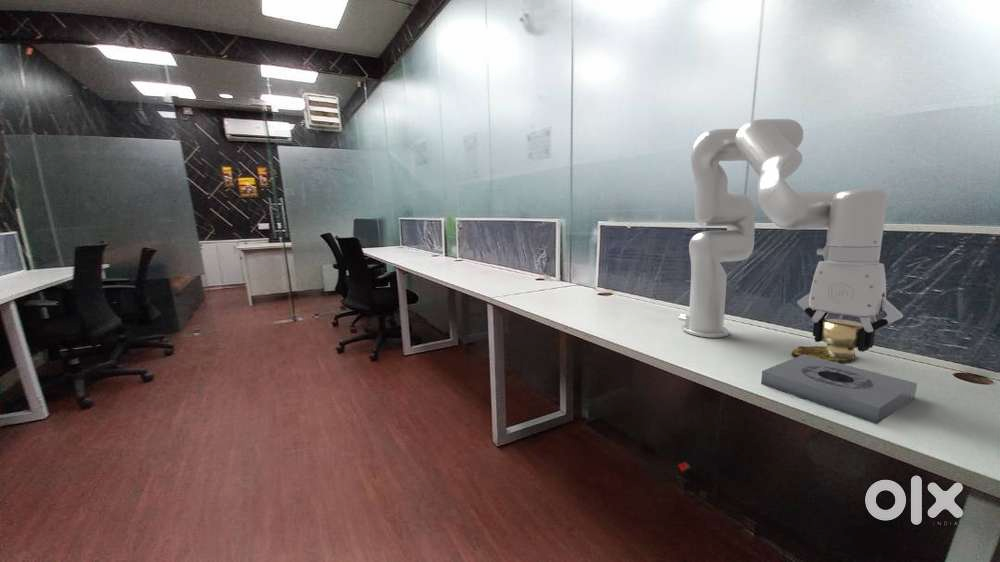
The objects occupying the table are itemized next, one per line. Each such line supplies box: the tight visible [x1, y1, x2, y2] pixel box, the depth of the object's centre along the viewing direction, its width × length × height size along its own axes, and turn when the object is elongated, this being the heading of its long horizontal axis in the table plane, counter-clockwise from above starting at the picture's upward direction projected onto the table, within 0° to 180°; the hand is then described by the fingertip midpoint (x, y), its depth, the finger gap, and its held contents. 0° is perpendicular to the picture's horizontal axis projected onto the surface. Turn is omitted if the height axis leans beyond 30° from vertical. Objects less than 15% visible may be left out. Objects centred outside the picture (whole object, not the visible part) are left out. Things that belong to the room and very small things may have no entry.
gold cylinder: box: [821, 318, 864, 359], centre depth 71 cm, size 6×6×7 cm
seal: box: [790, 345, 857, 364], centre depth 90 cm, size 9×5×15 cm
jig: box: [760, 354, 918, 425], centre depth 73 cm, size 18×18×3 cm
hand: (841, 344), depth 71 cm, fingers closed on gold cylinder, 6 cm apart
